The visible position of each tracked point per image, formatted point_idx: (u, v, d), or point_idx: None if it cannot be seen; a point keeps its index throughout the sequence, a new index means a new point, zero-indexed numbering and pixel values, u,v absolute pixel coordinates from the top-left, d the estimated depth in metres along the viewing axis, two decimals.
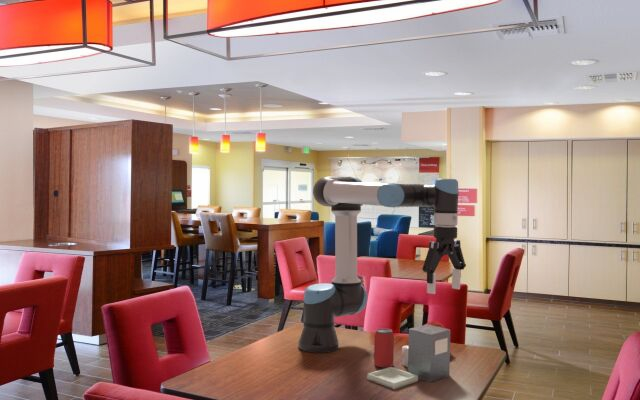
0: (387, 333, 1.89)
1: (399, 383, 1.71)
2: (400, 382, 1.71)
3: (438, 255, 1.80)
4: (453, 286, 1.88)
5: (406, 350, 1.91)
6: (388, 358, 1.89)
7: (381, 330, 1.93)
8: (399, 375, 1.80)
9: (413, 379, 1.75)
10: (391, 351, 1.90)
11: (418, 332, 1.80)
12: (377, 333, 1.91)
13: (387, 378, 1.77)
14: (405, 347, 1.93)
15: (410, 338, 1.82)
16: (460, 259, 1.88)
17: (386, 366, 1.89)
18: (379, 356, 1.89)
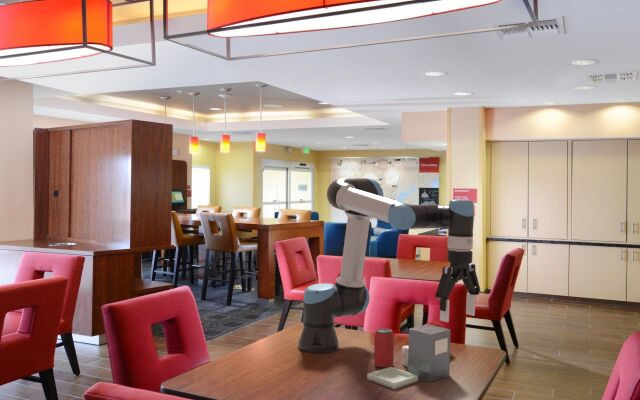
0: (387, 333, 1.89)
1: (399, 383, 1.71)
2: (400, 382, 1.71)
3: (452, 281, 1.70)
4: (468, 312, 1.79)
5: (406, 350, 1.91)
6: (388, 358, 1.89)
7: (381, 330, 1.93)
8: (399, 375, 1.80)
9: (413, 379, 1.75)
10: (391, 351, 1.90)
11: (418, 332, 1.80)
12: (377, 333, 1.91)
13: (387, 378, 1.77)
14: (405, 347, 1.93)
15: (410, 338, 1.82)
16: (475, 284, 1.79)
17: (386, 366, 1.89)
18: (379, 356, 1.89)
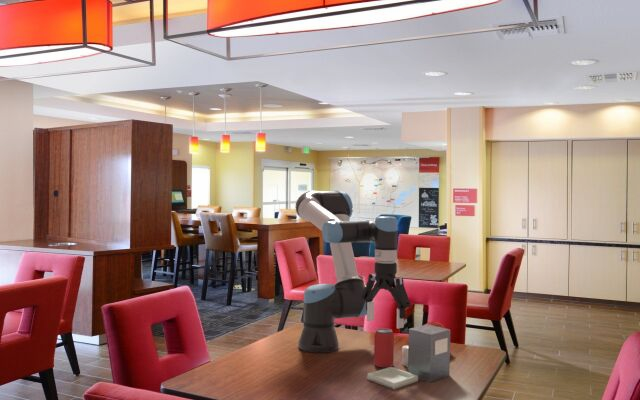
0: (387, 333, 1.89)
1: (399, 383, 1.71)
2: (400, 382, 1.71)
3: None
4: None
5: (406, 350, 1.91)
6: (388, 358, 1.89)
7: (381, 330, 1.93)
8: (399, 375, 1.80)
9: (413, 379, 1.75)
10: (391, 351, 1.90)
11: (418, 332, 1.80)
12: (377, 333, 1.91)
13: (387, 378, 1.77)
14: (405, 347, 1.93)
15: (410, 338, 1.82)
16: None
17: (386, 366, 1.89)
18: (379, 356, 1.89)
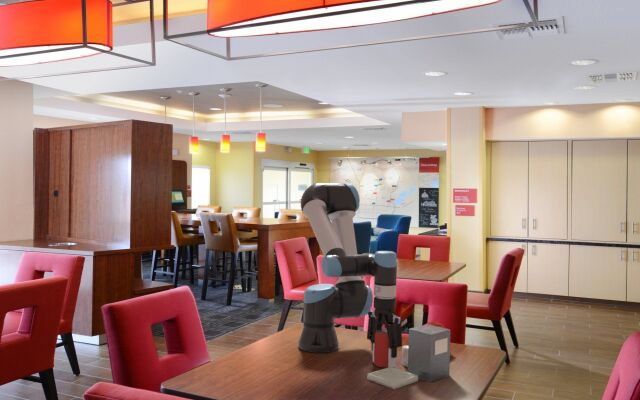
0: (387, 333, 1.89)
1: (399, 383, 1.71)
2: (400, 382, 1.71)
3: None
4: None
5: (406, 350, 1.91)
6: None
7: (381, 330, 1.93)
8: (399, 375, 1.80)
9: (413, 379, 1.75)
10: None
11: (418, 332, 1.80)
12: (377, 333, 1.91)
13: (387, 378, 1.77)
14: (405, 347, 1.93)
15: (410, 338, 1.82)
16: None
17: (386, 366, 1.89)
18: (379, 356, 1.89)
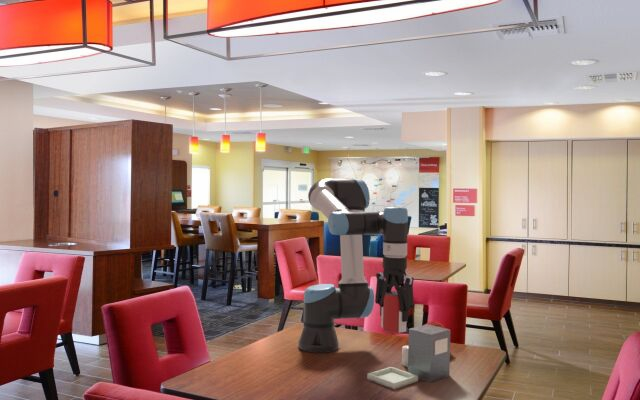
0: (397, 295, 1.74)
1: (399, 383, 1.71)
2: (400, 382, 1.71)
3: None
4: None
5: (406, 350, 1.91)
6: (398, 322, 1.74)
7: (391, 292, 1.78)
8: (399, 375, 1.80)
9: (413, 379, 1.75)
10: None
11: (418, 332, 1.80)
12: (386, 295, 1.75)
13: (387, 378, 1.77)
14: (405, 347, 1.93)
15: (410, 338, 1.82)
16: None
17: (396, 331, 1.74)
18: (389, 320, 1.74)
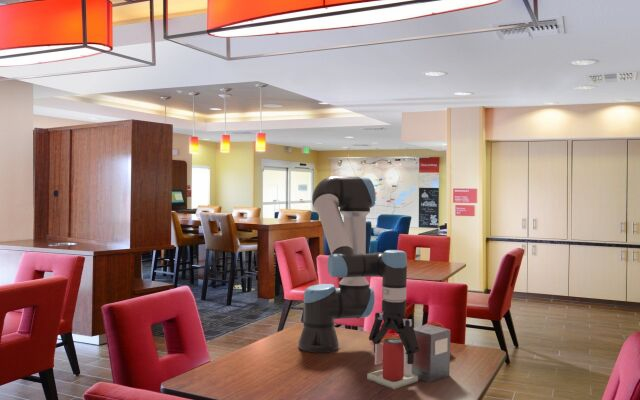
0: (397, 343, 1.74)
1: (399, 383, 1.71)
2: (400, 382, 1.71)
3: None
4: None
5: None
6: (398, 371, 1.74)
7: (390, 340, 1.78)
8: None
9: (413, 379, 1.75)
10: (401, 363, 1.75)
11: (418, 332, 1.80)
12: (386, 343, 1.76)
13: None
14: None
15: None
16: None
17: (396, 379, 1.74)
18: (388, 369, 1.74)
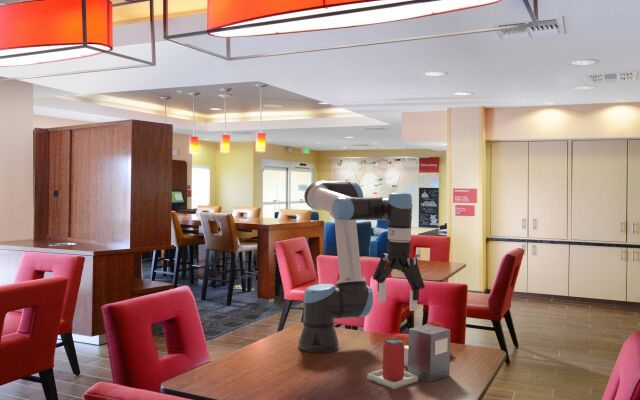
0: (397, 344, 1.74)
1: (399, 383, 1.71)
2: (400, 382, 1.71)
3: None
4: None
5: (406, 350, 1.91)
6: (398, 371, 1.74)
7: (390, 340, 1.78)
8: None
9: (413, 379, 1.75)
10: (401, 363, 1.75)
11: (418, 332, 1.80)
12: (386, 344, 1.75)
13: None
14: (405, 347, 1.93)
15: (410, 338, 1.82)
16: None
17: (396, 380, 1.74)
18: (388, 369, 1.74)
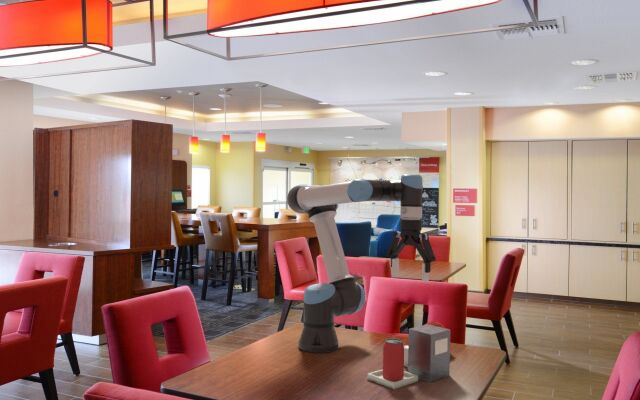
0: (397, 344, 1.74)
1: (399, 383, 1.71)
2: (400, 382, 1.71)
3: None
4: None
5: (406, 350, 1.91)
6: (398, 371, 1.74)
7: (390, 340, 1.78)
8: None
9: (413, 379, 1.75)
10: (401, 363, 1.75)
11: (418, 332, 1.80)
12: (386, 344, 1.76)
13: None
14: (405, 347, 1.93)
15: (410, 338, 1.82)
16: None
17: (396, 380, 1.74)
18: (388, 369, 1.74)
